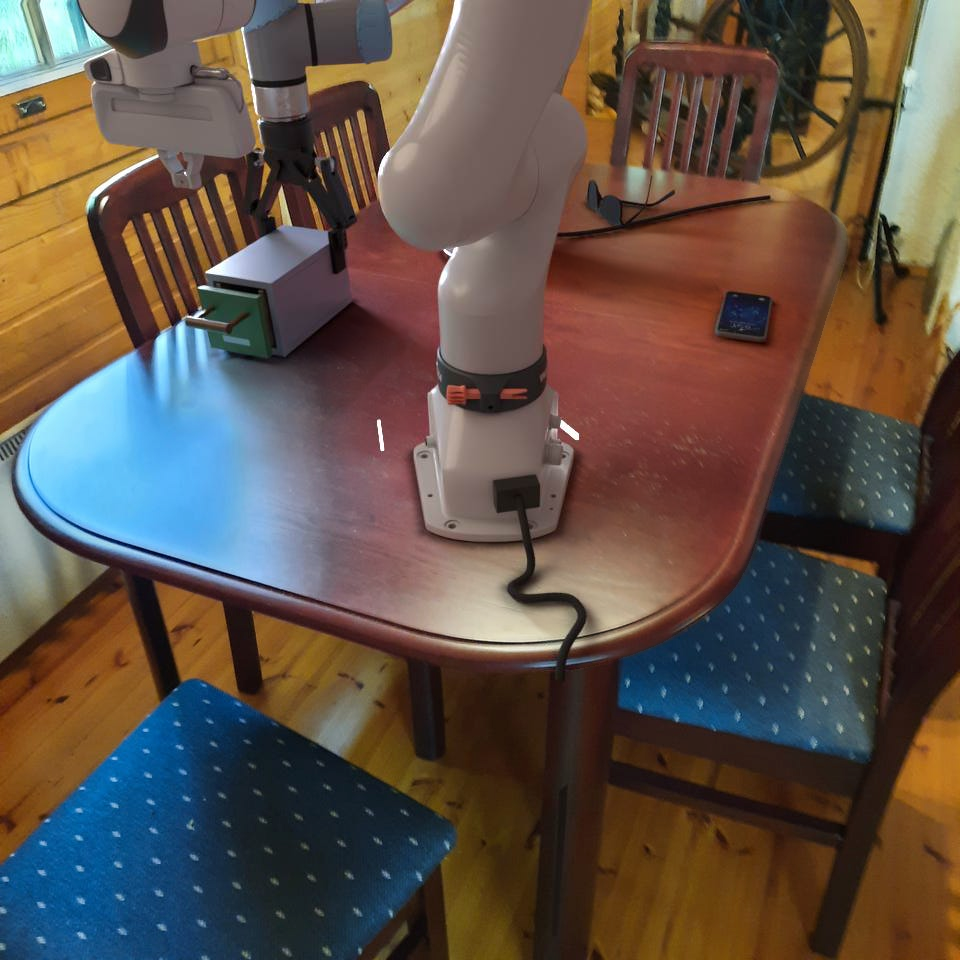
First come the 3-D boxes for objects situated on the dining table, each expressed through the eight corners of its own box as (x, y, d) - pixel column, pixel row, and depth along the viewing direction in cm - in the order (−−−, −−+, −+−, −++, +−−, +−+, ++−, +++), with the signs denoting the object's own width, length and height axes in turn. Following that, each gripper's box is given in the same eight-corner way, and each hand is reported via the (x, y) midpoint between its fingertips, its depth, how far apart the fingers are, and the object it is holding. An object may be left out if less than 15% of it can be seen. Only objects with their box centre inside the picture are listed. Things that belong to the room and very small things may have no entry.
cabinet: (284, 357, 122) (271, 283, 115) (220, 344, 125) (204, 272, 119) (352, 301, 136) (344, 233, 130) (293, 291, 140) (282, 224, 133)
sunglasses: (684, 220, 161) (688, 194, 158) (614, 230, 158) (616, 203, 155) (646, 193, 174) (648, 168, 171) (580, 201, 171) (581, 176, 168)
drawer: (245, 377, 115) (232, 315, 110) (186, 365, 118) (171, 304, 113) (334, 305, 133) (326, 249, 127) (281, 296, 136) (271, 241, 130)
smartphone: (773, 295, 132) (766, 339, 121) (772, 301, 133) (765, 345, 121) (725, 289, 134) (713, 331, 123) (724, 295, 135) (712, 337, 123)
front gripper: (254, 63, 95) (274, 188, 103) (110, 52, 102) (139, 171, 110) (220, 75, 91) (244, 205, 99) (71, 63, 97) (105, 186, 105)
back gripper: (371, 115, 118) (385, 266, 131) (230, 102, 125) (256, 247, 138) (344, 128, 112) (361, 285, 125) (198, 115, 120) (229, 264, 133)
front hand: (188, 187), depth 104 cm, fingers closed
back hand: (306, 265), depth 132 cm, fingers closed on cabinet, 11 cm apart
